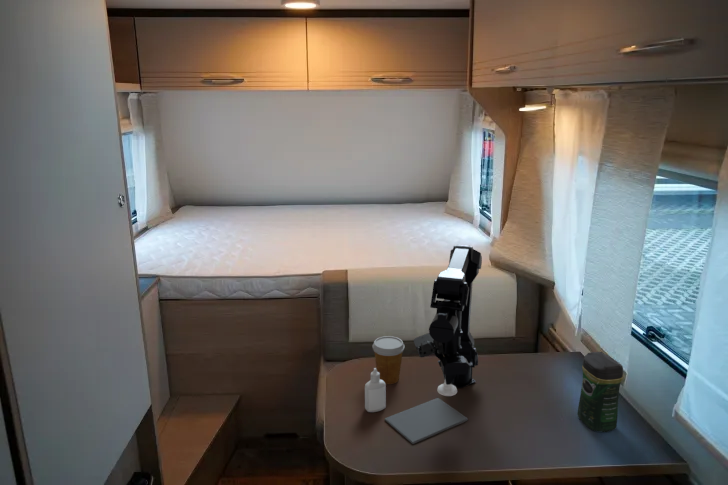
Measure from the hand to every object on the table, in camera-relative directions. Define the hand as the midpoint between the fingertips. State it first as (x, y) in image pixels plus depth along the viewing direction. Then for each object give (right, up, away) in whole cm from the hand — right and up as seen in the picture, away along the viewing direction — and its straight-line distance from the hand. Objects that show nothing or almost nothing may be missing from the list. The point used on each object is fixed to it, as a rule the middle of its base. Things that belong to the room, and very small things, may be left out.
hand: (447, 382), depth 137 cm
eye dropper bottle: (-18, -10, +11) cm, 23 cm away
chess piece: (0, -3, +1) cm, 3 cm away
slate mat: (-5, -11, +5) cm, 13 cm away
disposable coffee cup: (-14, -6, +26) cm, 30 cm away
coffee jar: (+39, -12, +3) cm, 41 cm away
